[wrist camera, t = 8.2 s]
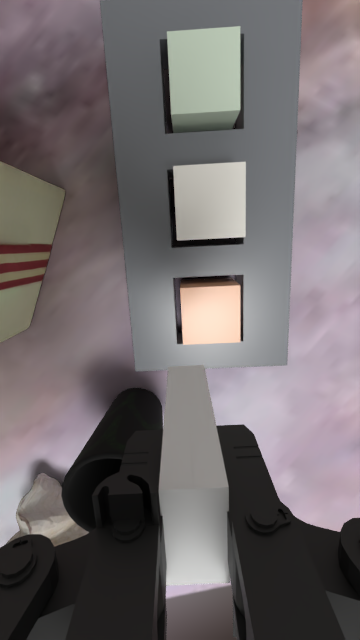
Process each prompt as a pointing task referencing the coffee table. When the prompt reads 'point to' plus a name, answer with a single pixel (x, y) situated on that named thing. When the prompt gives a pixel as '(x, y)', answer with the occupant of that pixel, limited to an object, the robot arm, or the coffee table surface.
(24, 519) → the seashell
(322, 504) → the coffee table surface
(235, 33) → the sage key
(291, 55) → the key panel
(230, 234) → the ivory key
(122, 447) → the cup
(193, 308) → the peach cube
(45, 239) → the gift box
